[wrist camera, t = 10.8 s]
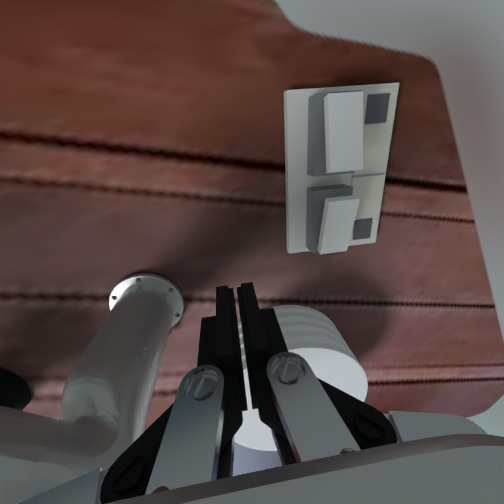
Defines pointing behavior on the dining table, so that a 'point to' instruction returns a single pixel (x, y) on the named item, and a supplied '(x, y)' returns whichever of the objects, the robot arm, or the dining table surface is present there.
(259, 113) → the dining table surface
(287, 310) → the plate stack
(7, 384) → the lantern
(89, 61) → the dining table surface
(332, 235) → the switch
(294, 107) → the panel
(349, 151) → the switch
